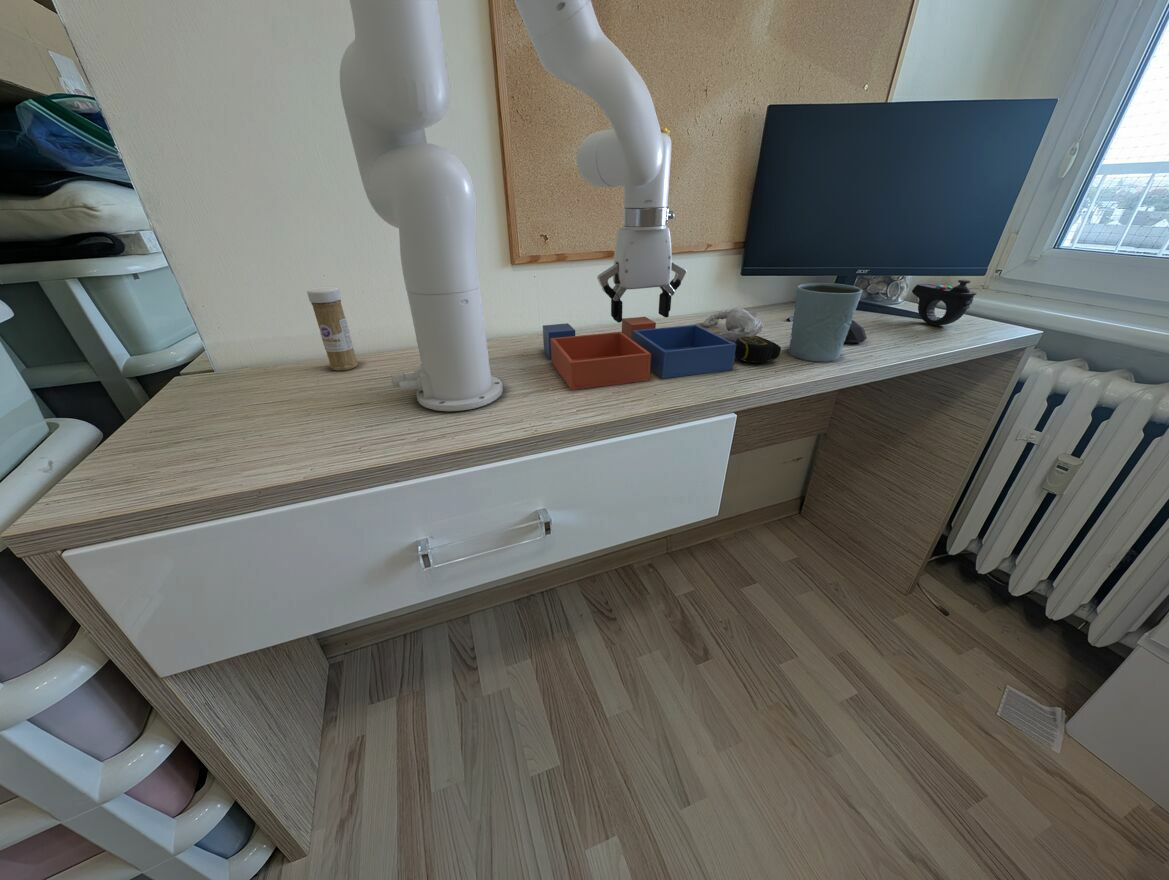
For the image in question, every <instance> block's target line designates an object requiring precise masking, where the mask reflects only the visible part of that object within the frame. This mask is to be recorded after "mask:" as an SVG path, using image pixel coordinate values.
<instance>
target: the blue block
mask: <svg viewBox="0 0 1169 880" xmlns="http://www.w3.org/2000/svg"><path fill="white" fill-rule="evenodd" d="M570 336H576V329H575V328H574V327H573V326H572V325H571V324H570V323H566V322H565V323H556V324H546V325H545V324H544V325H542V340H543V341H542V342H543V352H544V353H545V355H546V356H547V357H548V359H549V360H552V358H551V338H560V337H570Z"/></svg>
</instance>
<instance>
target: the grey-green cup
mask: <svg viewBox="0 0 1169 880" xmlns="http://www.w3.org/2000/svg"><path fill="white" fill-rule="evenodd" d="M795 293H796V294H795V303H794V312H793V317H792V318H793V319H792V324H791V325H792V326H791V333H790V335H791V336H790V337H791V338H790V341H789V346H788V347H789V348H788V353H789V354H790V355H791V356H793V357H795V358H797V359H801V360H804V361H809V362H823V363H824V362H825V363H827V362H828V363H829V362H834V361H837V360H838V359H839V358H840V356H841V353H842V351H843V348H844V343H845V342H844V341H845V339H846V336H847V333H848V330H849V327H850V325H851V322H852V320H853V319H854V315H855V312H856V309H857V308H858V306H859V301H860V299H861V297H862V294H863V289H862V288H860V287H859V286H857V285H856V286H855V285H850V284H845V283H843V284H842V283H833V282H831V283H830V282H810V283H801V284H798V285H797V287H796V292H795Z"/></svg>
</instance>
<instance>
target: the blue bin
mask: <svg viewBox="0 0 1169 880" xmlns="http://www.w3.org/2000/svg"><path fill="white" fill-rule="evenodd" d="M632 340H633V341H634V342H636V343H637V344H638V345H640V346H641V347H642V348H644V349H645V350H647V351H648V352H649V353H651V363H650V371H652V372H653V373H654V374H655V375H657V376H658V377H660V378H661V379H662V380H663V379H670V378H678V377H687V376H694V375H702V374H710V373H717V372H718V373H719V372H725V371H726V372H727V371H732V370H733V367H734V361H735V357H736V356H735V350H736V344H735V343H734V342H731V341H729V340H727V339H725V338H722V337H720V336H718V334H716V333H715V332H712V331H710V330H708V329H706V328H704V327H702V326H700V325H698V324H689V325H688V324H687V325H677V326H668V327H667V326H666V327H665V326H664V327H656V328H655V329H644V330H634V331H633V334H632Z"/></svg>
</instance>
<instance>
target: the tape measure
mask: <svg viewBox="0 0 1169 880" xmlns="http://www.w3.org/2000/svg"><path fill="white" fill-rule="evenodd" d="M735 344H736V350H735V356H734V357H735V358H737V359H739V360H742V361H744V362H746V363H748V364H750V363H760V364H761V363H766V362H769V361H773V360H776V359H777V358H779V357H780V355H781V352H782V347H781V346H780V345H779V344H778V343H775V341H772V340H769V339H767V338H764V337H762V336H759V335H756V336H742V337H739V338H738V339H737V340H736V342H735Z"/></svg>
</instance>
